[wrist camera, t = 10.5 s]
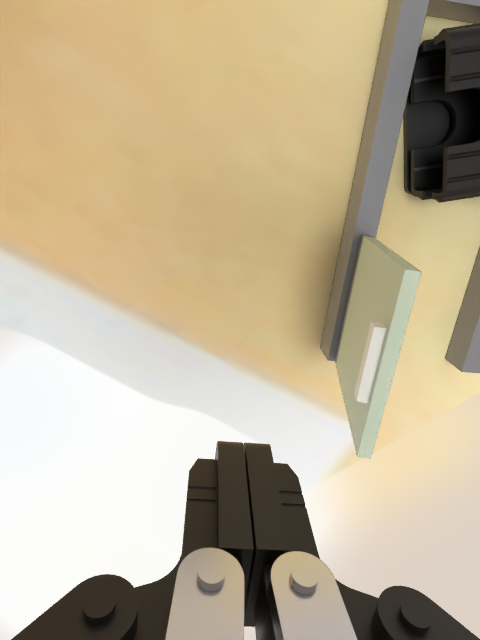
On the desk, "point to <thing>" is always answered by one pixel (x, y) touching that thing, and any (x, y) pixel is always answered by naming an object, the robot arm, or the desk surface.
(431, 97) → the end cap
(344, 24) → the desk surface
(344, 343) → the lid
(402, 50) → the grey frame
